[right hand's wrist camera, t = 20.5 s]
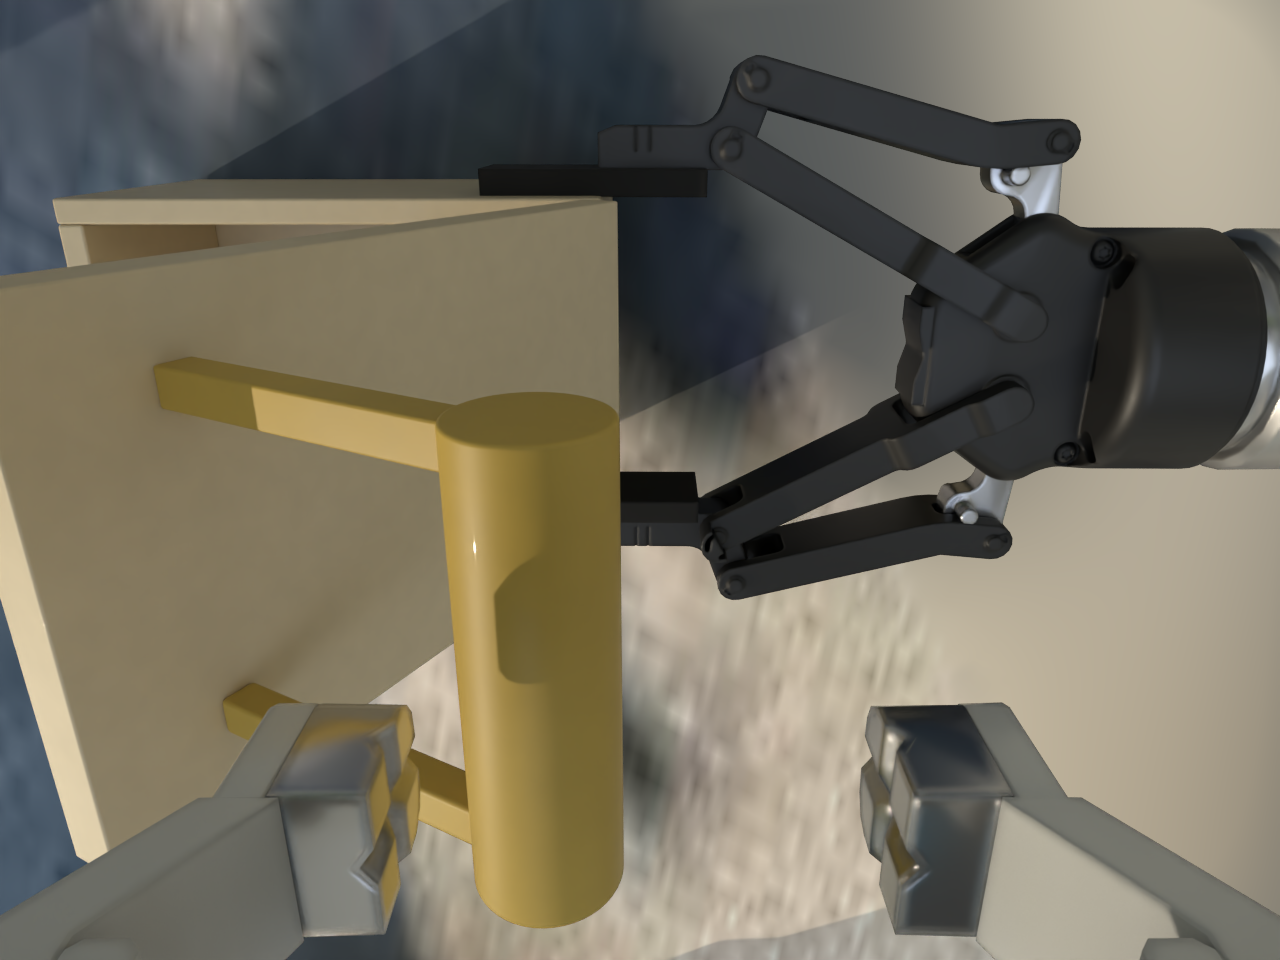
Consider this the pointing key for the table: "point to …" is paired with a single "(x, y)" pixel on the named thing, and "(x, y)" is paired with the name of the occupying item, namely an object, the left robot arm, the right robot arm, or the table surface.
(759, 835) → the table surface
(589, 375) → the lid
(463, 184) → the chest
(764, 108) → the left robot arm
